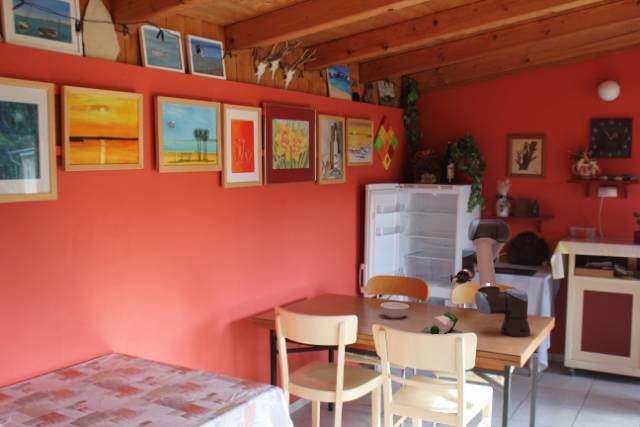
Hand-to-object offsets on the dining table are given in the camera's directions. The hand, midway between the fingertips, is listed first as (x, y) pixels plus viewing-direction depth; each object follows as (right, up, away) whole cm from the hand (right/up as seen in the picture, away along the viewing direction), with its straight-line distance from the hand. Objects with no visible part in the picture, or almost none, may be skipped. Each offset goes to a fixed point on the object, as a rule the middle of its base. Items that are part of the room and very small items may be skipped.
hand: (453, 282), depth 360 cm
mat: (-11, -24, -20) cm, 33 cm away
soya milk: (-5, -19, -14) cm, 25 cm away
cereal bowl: (-32, -22, +13) cm, 41 cm away
